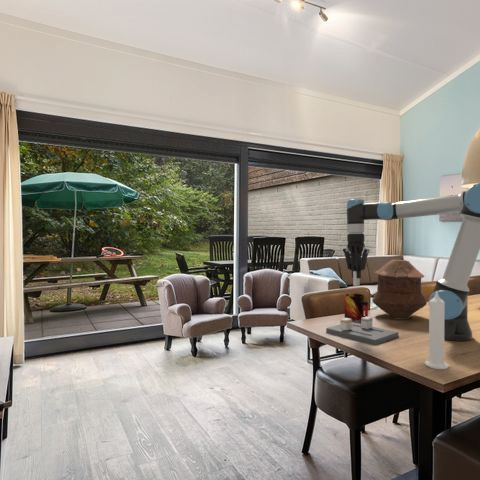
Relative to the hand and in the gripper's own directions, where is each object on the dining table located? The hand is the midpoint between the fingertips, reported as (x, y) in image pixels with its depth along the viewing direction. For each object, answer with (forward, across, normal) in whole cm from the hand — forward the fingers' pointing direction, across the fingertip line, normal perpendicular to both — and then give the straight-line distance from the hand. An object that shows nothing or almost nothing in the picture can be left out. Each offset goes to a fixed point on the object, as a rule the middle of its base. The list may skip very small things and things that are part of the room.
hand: (356, 285), depth 172 cm
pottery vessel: (+21, +2, -39) cm, 45 cm away
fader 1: (+18, -1, +9) cm, 20 cm away
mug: (+21, +13, -20) cm, 32 cm away
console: (+21, -5, +5) cm, 22 cm away
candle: (+21, -43, +19) cm, 52 cm away
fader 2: (+18, -5, 0) cm, 19 cm away
